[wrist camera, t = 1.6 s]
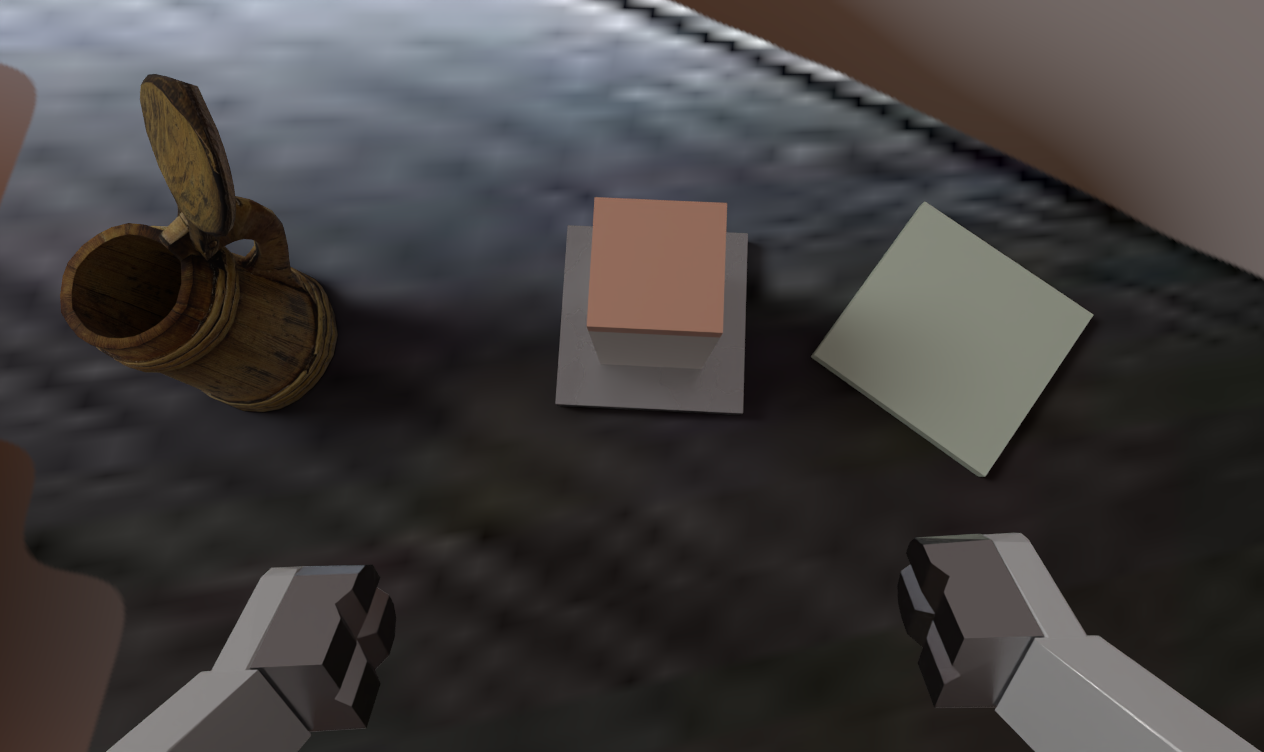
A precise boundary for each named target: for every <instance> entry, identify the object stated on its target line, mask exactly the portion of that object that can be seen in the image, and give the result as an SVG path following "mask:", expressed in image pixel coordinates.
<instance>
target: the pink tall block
mask: <svg viewBox="0 0 1264 752" xmlns="http://www.w3.org/2000/svg"><path fill="white" fill-rule="evenodd" d="M726 220H727V203H713V202H690V201H667V200H644V199H621V198H599V197H595V201H594V217H593V233H592V249H591V264H590V280H589V296H588V312H587V329H588V332H589V334H590V337H591V340H592V343H593V345H594V348H595V351H596V353H597V356H598V359H599V362H600V364H608V365H629V366H649V367H670V368H690V369H702V368H703V366H704V364H705V363H706V361H707V359H708V357H709V356H710V354H711V352H712V351H713V349H714V347H715V346H716V344H717V342H718V340H719V339H720V337H721V335H722V334H723V315H724V283H725V252H726Z"/></svg>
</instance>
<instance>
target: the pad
mask: <svg viewBox="0 0 1264 752" xmlns="http://www.w3.org/2000/svg"><path fill="white" fill-rule="evenodd" d="M1092 316H1093V314H1092V313H1090V312H1089V311H1087V310H1086V309H1084V308H1083V307H1081V306H1080V305H1078V304H1077V303H1075V302H1074V301H1072V300H1071V299H1069V298H1068V297H1066V296H1065V295H1063V294H1062V293H1060V292H1059V291H1057V290H1056V289H1054V288H1053V287H1051V286H1050V285H1048V284H1047V283H1045V282H1044V281H1042V280H1041V279H1039V278H1038V277H1036V276H1035V275H1033V274H1032V273H1030V272H1029V271H1027V270H1026V269H1024V268H1023V267H1022V266H1020V265H1019V264H1017V263H1016V262H1014V261H1013V260H1011V259H1010V258H1008V257H1007V256H1005V255H1004V254H1002V253H1001V252H999V251H998V250H996V249H995V248H993V247H992V246H990V245H989V244H987V243H986V242H984V241H983V240H981V239H980V238H978V237H977V236H975V235H974V234H972V233H971V232H969V231H968V230H966V229H965V228H963V227H962V226H960V225H959V224H957V223H956V222H954V221H953V220H952V219H950V218H949V217H947V216H946V215H944V214H943V213H941V212H940V211H938V210H937V209H935V208H934V207H932V206H931V205H929V204H928V203H926V202H924V203H923V204H922V205H921V206H920V207H919V208H918V209H917V211H916V212H915V213H914V215H913V216H912V217H911V219H910V220H909V222H908V223H907V224H906V226H905V227H904V228H903V230H902V231H901V233H900V234H899V235H898V237H897V238H896V240H895V241H894V242H893V244H892V245H891V246H890V248H889V249H888V251H887V252H886V253H885V255H884V256H883V257H882V259H881V260H880V262H879V263H878V264H877V266H876V267H875V269H874V270H873V271H872V273H871V274H870V275H869V277H868V278H867V280H866V281H865V282H864V284H863V285H862V286H861V288H860V289H859V291H858V292H857V293H856V295H855V296H854V298H853V299H852V300H851V302H850V303H849V304H848V306H847V307H846V309H845V310H844V311H843V313H842V314H841V315H840V317H839V318H838V320H837V321H836V322H835V324H834V325H833V327H832V328H831V329H830V331H829V332H828V333H827V335H826V336H825V338H824V339H823V340H822V342H821V343H820V344H819V346H818V347H817V349H816V350H815V351H814V353H813V354H812V356H811V357H812V358H813V359H814V360H816V361H817V362H819V363H820V364H821V365H823V366H824V367H826V368H827V369H828V370H830V371H831V372H833V373H834V374H835V375H837V376H838V377H840V378H841V379H842V380H844V381H845V382H847V383H848V384H849V385H851V386H852V387H854V388H855V389H856V390H858V391H859V392H861V393H862V394H863V395H865V396H866V397H868V398H869V399H870V400H872V401H873V402H875V403H876V404H877V405H879V406H880V407H882V408H883V409H884V410H886V411H887V412H889V413H890V414H891V415H893V416H894V417H896V418H897V419H898V420H900V421H901V422H903V423H904V424H905V425H907V426H908V427H910V428H911V429H912V430H914V431H915V432H917V433H918V434H919V435H921V436H922V437H924V438H925V439H926V440H928V441H929V442H931V443H932V444H933V445H935V446H936V447H938V448H939V449H940V450H942V451H943V452H945V453H946V454H947V455H949V456H950V457H952V458H953V459H954V460H956V461H957V462H959V463H960V464H961V465H963V466H964V467H966V468H967V469H968V470H970V471H971V472H973V473H974V474H975V475H977V476H978V477H985V476H986V475H987V473H988V472H989V470H990V469H991V467H992V466H993V464H994V463H995V461H996V460H997V458H998V457H999V455H1000V454H1001V452H1002V451H1003V449H1004V448H1005V446H1006V445H1007V443H1008V442H1009V440H1010V439H1011V437H1012V436H1013V434H1014V433H1015V431H1016V430H1017V428H1018V427H1019V425H1020V424H1021V423H1022V421H1023V420H1024V418H1025V417H1026V415H1027V414H1028V412H1029V411H1030V409H1031V408H1032V406H1033V405H1034V403H1035V402H1036V400H1037V399H1038V397H1039V396H1040V394H1041V393H1042V391H1043V390H1044V388H1045V387H1046V385H1047V384H1048V382H1049V381H1050V379H1051V378H1052V376H1053V375H1054V373H1055V372H1056V370H1057V369H1058V367H1059V366H1060V364H1061V363H1062V361H1063V360H1064V358H1065V357H1066V355H1067V354H1068V352H1069V351H1070V349H1071V348H1072V346H1073V345H1074V343H1075V342H1076V340H1077V339H1078V337H1079V336H1080V334H1081V333H1082V331H1083V330H1084V328H1085V327H1086V325H1087V324H1088V322H1089V321H1090V319H1091V318H1092Z"/></svg>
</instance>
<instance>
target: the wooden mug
mask: <svg viewBox="0 0 1264 752" xmlns="http://www.w3.org/2000/svg"><path fill="white" fill-rule="evenodd" d="M140 102H141V107H142V112H143V117H144V122H145V127H146V132H147V135H148V137H149V140H150V143H151V146H152V149H153V152H154V155H155V157H156V160H157V163H158V166H159V168H160V170H161V172H162V174H163V176H164V178H165V181H166V183H167V185H168V187H169V189H170V191H171V193H172V195H173V197H174V199H175V201H176V203H177V205H178V217H177V218H176V219H175V220H174V221H173V222H172V223H171V224H170V225H169V226H168V227H162V226H147V225H143V224H132V223H127V224H123V225H119V226H115V227H111V228H109V229H107V230H105V231H103V232H101V233H99V234H98V235H96V236H95V237H94V238H92V239H91V240H89V241H88V242H87V243H85V244H84V245H83V246H82V247H81V248H80V249H79V250H78V251H77V252H76V254H75V255H74V256H73V257H72V258H71V260H70V261H69V262H68V264H67V266H66V269H65V272H64V275H63V279H62V287H61V294H60V299H61V313H62V315H63V316H64V318H65V320H66V321H67V323H68V324H69V326H70V327H71V328H72V330H73V331H74V332H75V333H76V335H77V336H78V337H80V338H81V339H83V340H84V341H86V342H87V343H89V344H91V345H93V346H96V347H97V348H98V349H99V350H100V351H102V352H104V353H105V354H107V355H109V356H110V357H112V358H114V359H115V360H117V361H119V362H120V363H122V364H123V365H125V366H127V367H130V368H133V369H137V370H140V371H143V372H160V373H162V374H165V375H167V376H169V377H172V378H174V379H177V380H179V381H181V382H184V383H186V384H189V385H191V386H193V387H196V388H198V389H200V390H202V391H203V392H204V393H206V394H207V395H208V396H210V397H211V398H214V399H216V400H218V401H221V402H223V403H225V404H228V405H230V406H233V407H235V408H238V409H240V410H243V411H255V412H266V411H272V410H277V409H282V408H284V407H286V406H288V405H290V404H292V403H293V402H295V401H297V400H299V399H300V398H301V397H302V396H304V395H305V394H306V393H307V392H308V391H309V390H311V389H312V388H313V387H314V386H315V385H316V383H317V382H318V381H319V379H320V378H321V377H322V375H323V374H324V372H325V370H326V369H327V367H328V365H329V363H330V361H331V359H332V358H333V356H334V351H335V346H336V341H337V336H338V333H337V327H336V320H335V314H334V311H333V309H332V306H331V304H330V302H329V299H328V297H327V295H326V293H325V291H324V289H323V288H322V286H321V285H320V284H319V283H318V282H317V281H316V280H315V279H313V278H311V277H310V276H308V275H306V274H304V273H302V272H300V271H298V270H296V269H294V268H292V267H290V262H289V252H288V244H287V240H286V235H285V231H284V227H283V224H282V223H281V221H280V220H279V219H278V218H277V216H276V215H275V214H274V213H273V211H272V210H270V209H268V208H266V207H264V206H262V205H261V204H259V203H257V202H255V201H253V200H250V199H246V198H242V197H237V196H235V191H234V185H233V180H232V175H231V171H230V167H229V163H228V160H227V156H226V153H225V149H224V146H223V144H222V141H221V138H220V135H219V132H218V130H217V127H216V125H215V123H214V121H213V119H212V116H211V114H210V112H209V110H208V108H207V106H206V103H205V101H204V99H203V97H202V95H201V92H200V90H199V88H198V86H195V85H192V84H188V83H185V82H182V81H179V80H176V79H173V78H169V77H166V76H162V75H157V74H151V75H148V76H147V77H146V78H145V79H144V80H143V82H142V84H141V91H140ZM241 239H252V240H254V246H253V248H252V249H251V251H250V252H249V253H248V254H247V255H246V257H244V256H241V255H237V254H234V253H231V252H230V251H229V250H228V249H227V248H226V247H225V246H226V245H227V244H230V243H232V242H234V241H237V240H241Z"/></svg>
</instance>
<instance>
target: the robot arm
mask: <svg viewBox="0 0 1264 752" xmlns="http://www.w3.org/2000/svg"><path fill="white" fill-rule="evenodd" d="M906 554H907V557H908V559H909V562H910V565H909V566H908V567H906V568H905V569H904V570H902V571H901V573H900V577H899V581H898V586H897V587H898V604H899V609H900V613H901V618H902V621H903V623H904V626H905V629H906V632H907V634H908V635H909V636H910V637H911V638H912V639H913V640H915V641H916V642H917V643H918V644H919V645H920V646H922V647H923V649H922V652H921V655H920V658H919V661H918V665H919V668H920V670H921V673H922V676H923V678H924V681H925V684H926V686H927V689H928V692H929V694H930V697H931V700H932V703H933V705H934V708H962V707H997V708H996V709H995V711H996V712H997V713H998V714H999V715H1000V716H1001V717H1002V718H1003V719H1004V720H1005V721H1006V722H1007V723H1008V724H1009V725H1010V726H1011V727H1012V728H1013V729H1014V730H1015V731H1016V732H1017V733H1018V734H1019V735H1020V736H1021V738H1022V739H1023V740H1024V741H1025V742H1026V743H1027V744H1028V745H1029V746H1030V747H1031V748H1032V749H1033V750H1034V751H1035V752H1261V751H1259V750H1258V749H1256V748H1255V747H1254V746H1252V745H1251V744H1249V743H1248V742H1247V741H1245V740H1244V739H1242V738H1241V737H1240V736H1238V735H1237V734H1235V733H1234V732H1233V731H1231V730H1230V729H1228V728H1227V727H1226V726H1224V725H1223V724H1221V723H1220V722H1219V721H1217V720H1216V719H1214V718H1213V717H1212V716H1210V715H1209V714H1207V713H1206V712H1205V711H1203V710H1202V709H1200V708H1199V707H1198V706H1196V705H1195V704H1193V703H1192V702H1191V701H1189V700H1188V699H1186V698H1185V697H1184V696H1182V695H1181V694H1179V693H1178V692H1177V691H1175V690H1174V689H1173V688H1171V687H1170V686H1168V685H1167V684H1166V683H1164V682H1163V681H1161V680H1160V679H1159V678H1157V677H1156V676H1154V675H1153V674H1152V673H1150V672H1149V671H1147V670H1146V669H1145V668H1143V667H1142V666H1140V665H1139V664H1138V663H1136V662H1135V661H1133V660H1132V659H1131V658H1129V657H1128V656H1126V655H1125V654H1124V653H1122V652H1121V651H1119V650H1118V649H1117V648H1115V647H1114V646H1112V645H1111V644H1110V643H1108V642H1107V641H1105V640H1104V639H1103V638H1101V637H1100V636H1087V634H1086V633H1085V631H1084V629H1083V628H1082V626H1081V625H1080V623H1079V621H1078V620H1077V618H1076V616H1075V615H1074V613H1073V611H1072V610H1071V608H1070V607H1069V605H1068V603H1067V602H1066V600H1065V598H1064V597H1063V595H1062V593H1061V592H1060V590H1059V589H1058V587H1057V585H1056V584H1055V582H1054V580H1053V579H1052V577H1051V575H1050V574H1049V572H1048V571H1047V569H1046V567H1045V566H1044V564H1043V562H1042V561H1041V559H1040V557H1039V556H1038V554H1037V553H1036V551H1035V549H1034V548H1033V546H1032V544H1031V543H1030V541H1029V539H1028V538H1026V537H1025V536H1024V535H1022V534H1021V533H1003V534H988V535H981V534H969V535H953V536H937V537H921V538H914V539H913V540H912V541H911V542H910V543H909V546H908V549H907V552H906ZM379 580H380V576H379V575H378V573H377V571H376V569H375V568H374V566H373V565H345V566H309V567H307V566H302V567H280V568H271V569H270V570H269V571H268V572H266V573H265V574H264V575H263V576H262V577H261V579H260V580H259V582H258V584H257V586H256V588H255V590H254V592H253V594H252V595H251V597H250V599H249V601H248V603H247V605H246V607H245V609H244V610H243V612H242V614H241V616H240V618H239V620H238V622H237V624H236V625H235V627H234V629H233V631H232V633H231V635H230V637H229V639H228V640H227V642H226V644H225V646H224V648H223V650H222V652H221V654H220V655H219V657H218V659H217V661H216V663H215V665H214V667H213V669H212V670H211V671H204V672H200V673H199V674H198V675H197V676H196V677H194V678H193V679H192V680H191V681H190V682H188V683H187V684H186V685H185V686H184V687H183V688H181V689H180V690H179V691H178V692H177V693H175V694H174V695H173V696H172V697H171V698H169V699H168V700H167V701H166V702H165V703H163V704H162V705H161V706H160V707H159V708H158V709H156V710H155V711H154V712H153V713H152V714H150V715H149V716H148V717H147V718H146V719H144V720H143V721H142V722H141V723H140V724H139V725H137V726H136V727H135V728H134V729H133V730H131V731H130V732H129V733H128V734H127V735H125V736H124V737H123V738H122V739H121V740H119V741H118V742H117V743H116V744H115V745H114V746H112V747H111V748H110V749H109V750H108V751H106V752H297V751H298V750H299V749H300V748H301V747H302V745H303V744H304V743H305V742H306V741H307V739H308V738H309V737H310V736H311V734H310V732H315V731H330V730H346V729H361V728H367V725H368V722H369V719H370V715H371V712H372V709H373V706H374V703H375V700H376V696H377V693H378V690H379V687H380V681H379V679H378V676H377V674H376V671H375V669H376V668H377V667H378V666H379V665H380V664H381V663H382V662H383V661H384V660H385V659H386V658H387V657H388V656H389V655H390V651H391V648H392V644H393V641H394V637H395V625H396V614H395V609H394V604H393V602H392V600H391V598H390V596H389V594H387V593H385V592H383V591H382V590H380V589H378V588H377V586H378V583H379Z"/></svg>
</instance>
